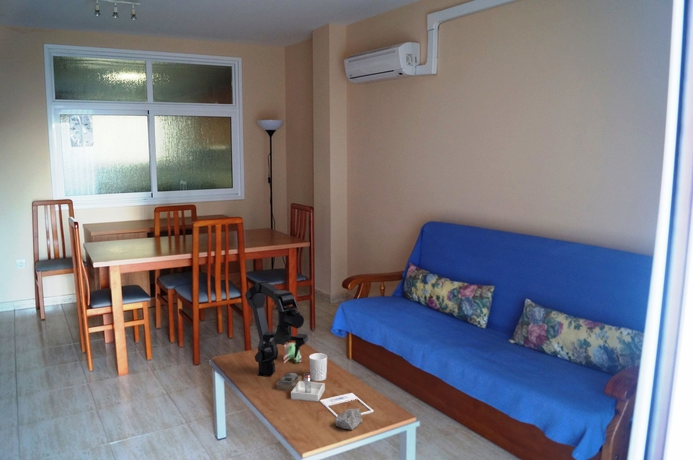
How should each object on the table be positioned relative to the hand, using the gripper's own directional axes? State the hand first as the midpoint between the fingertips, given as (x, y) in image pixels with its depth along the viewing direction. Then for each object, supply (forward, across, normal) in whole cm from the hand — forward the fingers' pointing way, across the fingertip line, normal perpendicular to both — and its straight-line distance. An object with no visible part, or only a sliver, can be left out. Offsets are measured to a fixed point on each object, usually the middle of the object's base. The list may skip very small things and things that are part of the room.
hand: (285, 356), depth 239 cm
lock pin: (+12, +12, -7) cm, 18 cm away
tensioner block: (+13, +2, 0) cm, 13 cm away
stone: (+12, +34, -29) cm, 46 cm away
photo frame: (+13, +30, -14) cm, 35 cm away
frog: (+14, -5, +26) cm, 30 cm away
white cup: (+13, +12, +10) cm, 20 cm away
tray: (+12, +12, -7) cm, 19 cm away
